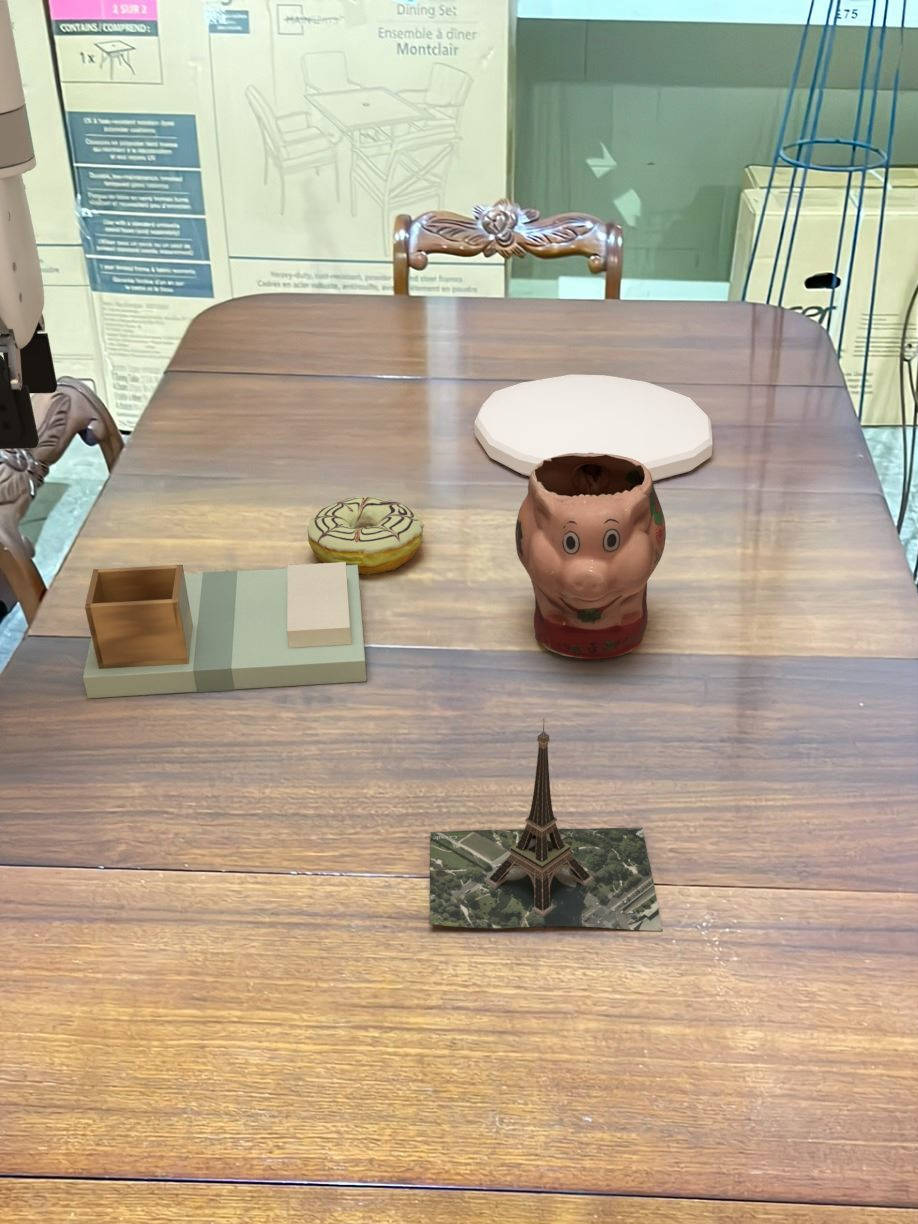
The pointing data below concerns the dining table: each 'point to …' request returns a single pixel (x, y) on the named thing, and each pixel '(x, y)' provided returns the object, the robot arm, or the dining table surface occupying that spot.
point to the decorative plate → (594, 423)
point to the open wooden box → (139, 616)
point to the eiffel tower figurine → (542, 873)
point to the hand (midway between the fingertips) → (25, 418)
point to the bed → (256, 634)
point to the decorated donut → (366, 534)
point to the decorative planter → (590, 551)
